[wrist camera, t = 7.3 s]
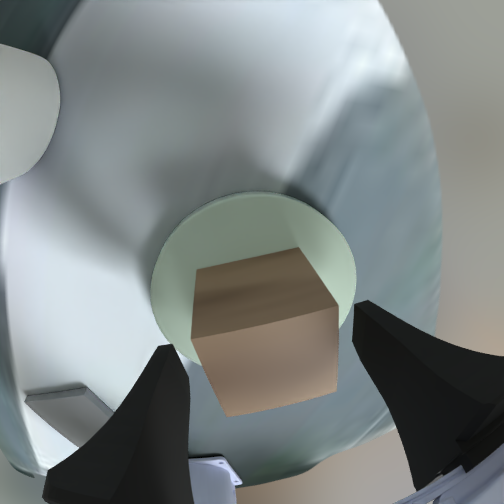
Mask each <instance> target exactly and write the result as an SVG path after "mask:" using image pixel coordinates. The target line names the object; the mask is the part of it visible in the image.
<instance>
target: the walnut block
mask: <svg viewBox="0 0 504 504" xmlns="http://www.w3.org/2000/svg"><path fill="white" fill-rule="evenodd" d="M191 342H192V344H193V346H194V349H195V351H196V353H197V355H198V358H199V360H200V362H201V364H202V367H203V369H204V371H205V373H206V375H207V378H208V380H209V382H210V384H211V386H212V388H213V390H214V392H215V394H216V396H217V398H218V401H219V403H220V405H221V407H222V409H223V411H224V412H225V414H226V416H227V417H231V416H237V415H243V414H248V413H254V412H259V411H264V410H268V409H273V408H277V407H282V406H286V405H290V404H294V403H298V402H302V401H305V400H309V399H313V398H316V397H319V396H323V395H326V394H329V393H333V392H336V391H337V373H338V345H339V305H338V303H337V302H336V300H335V299H334V297H333V296H332V294H331V293H330V291H329V290H328V288H327V287H326V286H325V284H324V283H323V281H322V280H321V278H320V277H319V275H318V274H317V272H316V271H315V269H314V268H313V267H312V265H311V264H310V262H309V261H308V259H307V258H306V256H305V255H304V254H303V252H302V251H301V249H300V248H299V247H297V248H292V249H288V250H283V251H279V252H274V253H270V254H265V255H261V256H256V257H252V258H247V259H242V260H238V261H233V262H229V263H224V264H220V265H215V266H211V267H206V268H201V269H197V270H196V280H195V290H194V301H193V313H192V326H191Z"/></svg>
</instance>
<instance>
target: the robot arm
mask: <svg viewBox="0 0 504 504" xmlns="http://www.w3.org/2000/svg"><path fill="white" fill-rule="evenodd" d="M352 342H353V344H354V347H355V349H356V351H357V354H358V356H359V358H360V360H361V362H362V364H363V366H364V367H365V369H366V371H367V372H368V374H369V376H370V377H371V379H372V381H373V382H374V384H375V385H376V387H377V389H378V390H379V392H380V394H381V395H382V397H383V399H384V401H385V403H386V404H387V406H388V408H389V411H390V413H391V415H392V418H393V420H394V422H395V425H396V427H397V429H398V433H399V435H400V438H401V441H402V444H403V447H404V450H405V453H406V456H407V460H408V463H409V467H410V471H411V475H412V479H413V484H414V487H415V489H416V491H417V492H416V493H414V494H412V495H410V496H408V497H406V498H404V499H402V500H400V501H397V502H395V503H393V504H427V503H428V502H430V501H432V500H434V501H433V504H504V356H495V355H490V354H485V353H480V352H476V351H472V350H469V349H465V348H462V347H459V346H456V345H453V344H450V343H448V342H445V341H443V340H440V339H438V338H436V337H433V336H431V335H429V334H427V333H425V332H423V331H421V330H419V329H417V328H415V327H413V326H412V325H410V324H408V323H406V322H404V321H403V320H401V319H399V318H397V317H396V316H394V315H392V314H391V313H389V312H387V311H386V310H384V309H382V308H381V307H379V306H377V305H376V304H374V303H372V302H370V301H369V300H366V301H363V302H360V303H356V304H354V321H353V336H352ZM189 415H190V385H189V377H188V375H187V373H186V371H185V369H184V367H183V364H182V362H181V360H180V358H179V356H178V354H177V352H176V350H175V348H174V346H173V344H168V345H161V346H158V347H157V349H156V350H155V352H154V353H153V355H152V357H151V358H150V360H149V362H148V363H147V365H146V367H145V368H144V370H143V372H142V373H141V375H140V376H139V378H138V380H137V381H136V383H135V384H134V386H133V388H132V389H131V391H130V392H129V393H128V395H127V396H126V398H125V399H124V401H123V402H122V403H121V405H120V406H119V408H118V409H117V410H116V411H115V413H114V414H113V415H112V416H111V417H110V419H109V420H108V421H107V422H106V423H105V424H104V425H103V426H102V427H101V428H100V429H99V430H98V431H97V432H96V433H95V434H94V435H93V436H92V437H91V438H90V439H89V440H88V441H87V442H86V443H85V444H84V445H83V446H82V447H80V448H79V449H78V450H77V451H75V452H74V453H73V454H72V455H70V456H69V457H68V458H66V459H65V460H63V461H62V462H60V463H59V464H57V465H56V466H54V467H52V468H51V469H49V470H48V472H47V476H46V481H45V485H44V490H43V495H42V498H43V499H44V500H45V501H46V502H47V503H49V504H237V503H236V494H235V486H234V485H239V484H242V480H241V479H240V478H239V476H238V475H237V474H236V473H235V471H234V470H233V469H232V467H231V466H230V465H229V463H228V462H227V460H226V459H225V458H224V457H208V458H195V459H188V433H189ZM435 498H436V499H435Z"/></svg>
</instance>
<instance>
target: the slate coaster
mask: <svg viewBox="0 0 504 504" xmlns="http://www.w3.org/2000/svg"><path fill="white" fill-rule="evenodd" d="M24 402H25V403H26V404H27V405H28V406H29V407H30V408H31V409H32V410H33V411H34V412H35V413H37V414H38V415H39V416H40V417H41V418H42V419H43V420H44V421H46V422H47V423H48V424H49V425H50V426H52V427H53V428H54V429H55V430H56V431H58V432H59V433H60V434H61V435H63V436H64V437H65V438H67V439H68V440H69V441H71V442H72V443H73V444H75V445H76V446H77V447H79V448H80V447H82V446H83V445H84V444H85V443H86V442H87V441H88V440H89V439H90V438H91V437H92V436H93V435H94V434H95V433H96V432H97V431H98V430H99V429H100V428H101V427H102V426H103V425H104V424H105V423H106V422H107V421H108V420H109V419H110V417H111V416H112V415H113V414H114V412H113V411H112V410H111V409H110V408H108V407H107V406H106V405H105V404H104V403H103V402H102V401H101V400H100V399H99V398H98V397H97V396H96V395H95V394H94V393H93V392H92V391H91V390H90V389H89V388H88V387H85V388H80V389H74V390H68V391H61V392H54V393H47V394H39V395H30V396H27V397H26V399H25V401H24Z"/></svg>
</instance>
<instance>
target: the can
mask: <svg viewBox="0 0 504 504" xmlns="http://www.w3.org/2000/svg"><path fill="white" fill-rule="evenodd" d="M59 109H60V89H59V83H58V79H57V76H56V73H55V71H54V69H53V67H52V65H51V64H50V63H49V62H48V61H47V60H46V59H44V58H42V57H41V56H38V55H35V54H33V53H30V52H27V51H24V50H20V49H17V48H14V47H10V46H6V45H3V44H0V184H2V183H4V182H7V181H9V180H12V179H14V178H17V177H19V176H21V175H23V174H25V173H26V172H28V171H29V170H30V169H31V168H32V167H33V166H34V165H35V164H36V163H37V162H38V161H39V159H40V158H41V157H42V155H43V154H44V152H45V150H46V149H47V147H48V145H49V143H50V140H51V138H52V136H53V133H54V130H55V127H56V123H57V119H58V115H59Z"/></svg>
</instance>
